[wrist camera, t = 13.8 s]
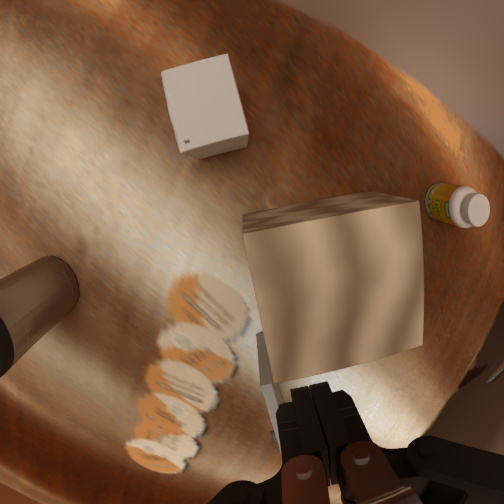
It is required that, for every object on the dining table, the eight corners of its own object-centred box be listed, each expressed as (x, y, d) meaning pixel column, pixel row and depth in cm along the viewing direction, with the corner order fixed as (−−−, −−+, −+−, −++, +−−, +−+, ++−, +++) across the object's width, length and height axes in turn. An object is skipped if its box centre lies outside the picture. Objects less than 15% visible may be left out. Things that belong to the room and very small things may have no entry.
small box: (248, 147, 39) (251, 135, 26) (198, 160, 39) (178, 155, 26) (232, 87, 37) (228, 51, 24) (183, 100, 37) (158, 71, 25)
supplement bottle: (418, 195, 41) (457, 203, 31) (443, 175, 40) (484, 179, 31) (433, 226, 42) (473, 241, 32) (457, 206, 41) (498, 216, 32)
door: (247, 335, 44) (249, 387, 33) (264, 331, 44) (271, 383, 33) (271, 417, 48) (278, 472, 37) (286, 414, 48) (295, 469, 37)
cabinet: (266, 328, 45) (274, 383, 32) (242, 214, 41) (242, 234, 28) (381, 302, 44) (422, 344, 32) (370, 191, 40) (418, 200, 28)
